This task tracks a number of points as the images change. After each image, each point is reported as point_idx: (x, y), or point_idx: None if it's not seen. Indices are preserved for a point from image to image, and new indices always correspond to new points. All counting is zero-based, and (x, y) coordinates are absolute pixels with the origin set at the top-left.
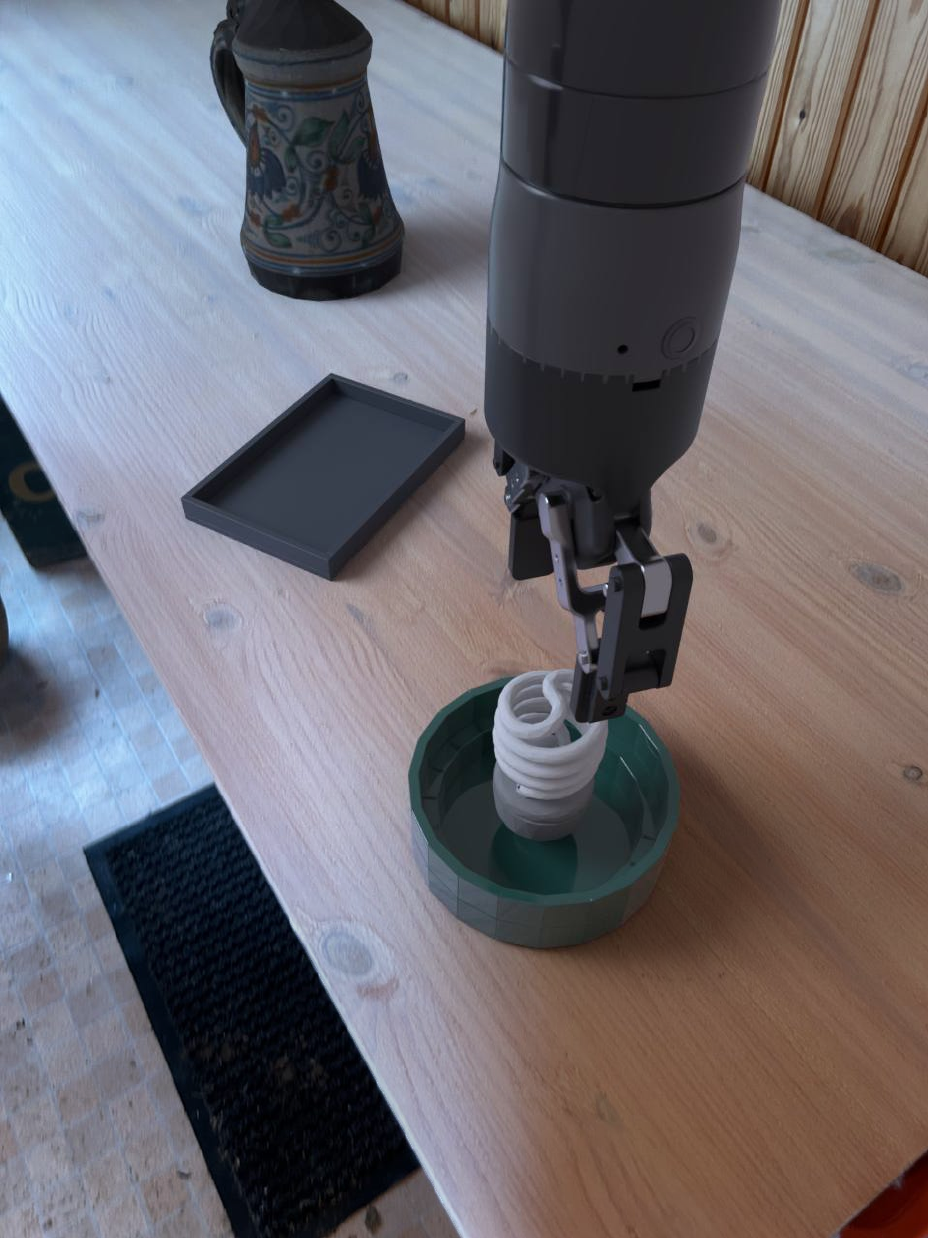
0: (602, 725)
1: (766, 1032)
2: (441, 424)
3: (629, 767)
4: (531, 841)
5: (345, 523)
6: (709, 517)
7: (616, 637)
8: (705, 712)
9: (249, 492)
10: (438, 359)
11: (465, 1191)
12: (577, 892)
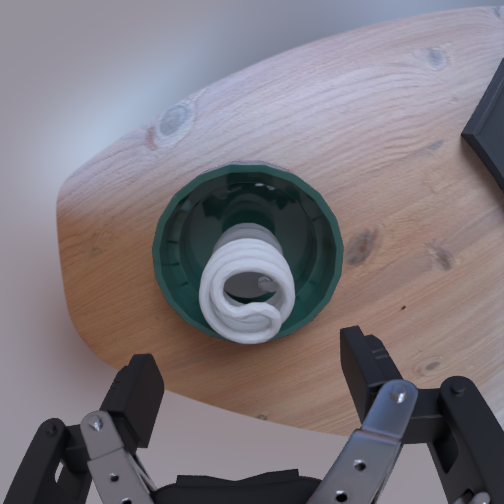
0: (224, 336)
1: (132, 328)
2: None
3: None
4: None
5: (498, 153)
6: (441, 368)
7: (12, 485)
8: (317, 349)
9: None
10: None
11: (65, 185)
12: (161, 270)
